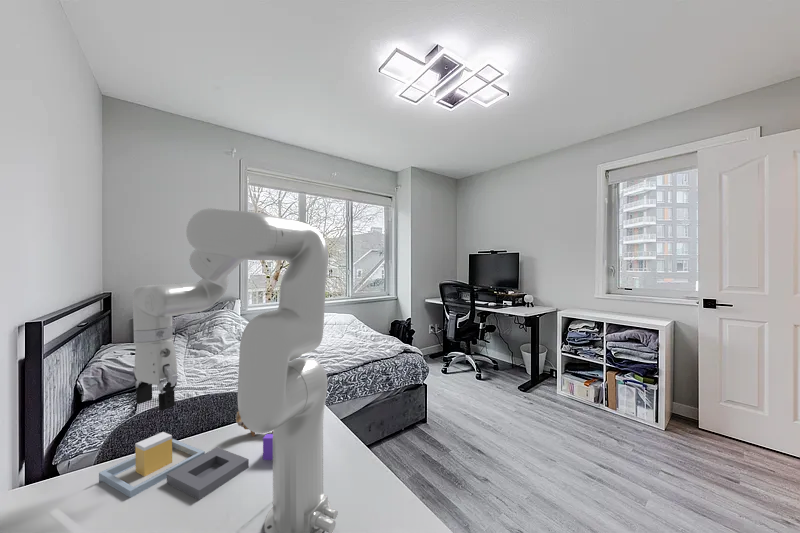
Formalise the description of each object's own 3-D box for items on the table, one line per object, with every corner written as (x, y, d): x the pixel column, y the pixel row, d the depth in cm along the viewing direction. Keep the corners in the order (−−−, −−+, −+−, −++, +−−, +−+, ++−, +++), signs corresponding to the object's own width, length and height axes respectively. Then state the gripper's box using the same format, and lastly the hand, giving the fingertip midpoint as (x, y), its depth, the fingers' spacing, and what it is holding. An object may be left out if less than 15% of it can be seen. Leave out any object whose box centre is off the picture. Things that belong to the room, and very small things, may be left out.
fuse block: (248, 471, 78) (248, 459, 78) (199, 504, 67) (199, 490, 67) (217, 458, 83) (217, 447, 83) (166, 487, 72) (166, 474, 72)
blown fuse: (172, 463, 80) (172, 435, 80) (144, 477, 75) (144, 447, 75) (163, 458, 82) (163, 431, 82) (135, 472, 76) (135, 443, 76)
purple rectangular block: (289, 465, 81) (289, 438, 81) (263, 465, 81) (263, 438, 81) (305, 439, 93) (305, 416, 93) (282, 439, 93) (281, 415, 93)
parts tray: (204, 460, 82) (204, 451, 82) (130, 502, 68) (130, 491, 68) (173, 447, 88) (173, 438, 88) (99, 482, 74) (98, 472, 74)
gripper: (190, 334, 78) (192, 404, 77) (151, 330, 85) (153, 394, 85) (156, 341, 71) (158, 418, 71) (116, 336, 78) (118, 405, 78)
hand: (155, 405), depth 78 cm, fingers open, 9 cm apart
